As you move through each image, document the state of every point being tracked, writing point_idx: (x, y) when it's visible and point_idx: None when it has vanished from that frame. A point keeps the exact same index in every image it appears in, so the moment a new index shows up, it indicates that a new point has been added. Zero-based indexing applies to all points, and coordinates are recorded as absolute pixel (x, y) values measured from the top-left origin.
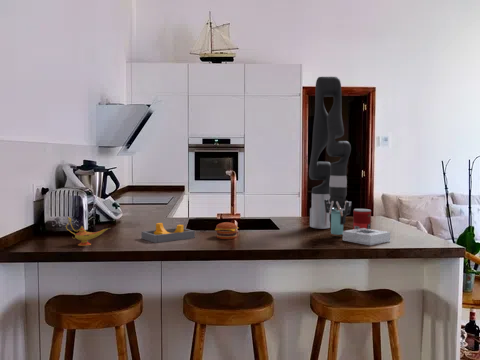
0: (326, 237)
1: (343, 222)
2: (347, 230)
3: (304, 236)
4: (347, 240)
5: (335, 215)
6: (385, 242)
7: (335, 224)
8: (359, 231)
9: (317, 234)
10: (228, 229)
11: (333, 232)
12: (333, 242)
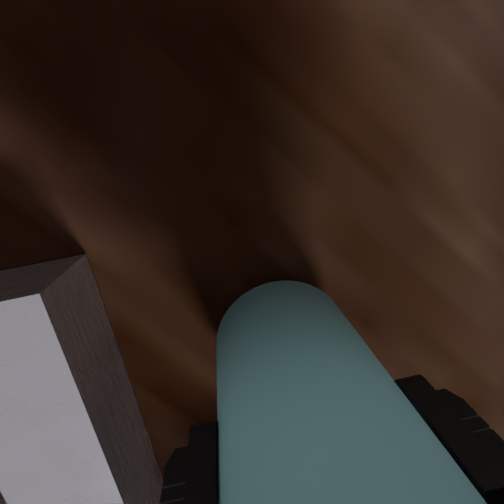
0: (298, 208)
1: (166, 465)
2: (64, 376)
3: (475, 9)
4: (18, 269)
5: (292, 491)
6: None
7: (260, 357)
8: (2, 477)
9: (473, 232)
10: None
11: (269, 290)
12: (5, 73)
